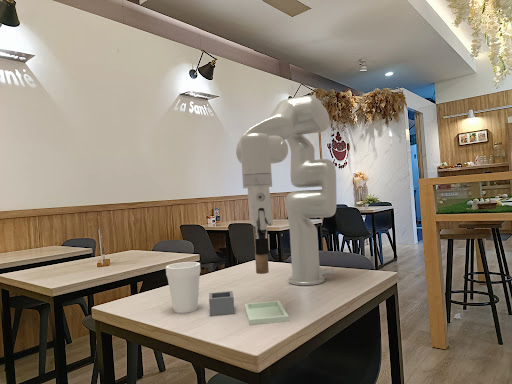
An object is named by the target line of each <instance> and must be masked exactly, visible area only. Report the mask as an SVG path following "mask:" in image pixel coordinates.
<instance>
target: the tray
mask: <svg viewBox="0 0 512 384" xmlns="http://www.w3.org/2000/svg"><path fill="white" fill-rule="evenodd" d="M244 310H245V315H246V317H247V321H248V325H249V326H255V325H264V324H265V325H266V324H274V323H284V322H285V323H286V322H290V315H289V314H288V313H287V311H286V309H285V308H284V305H282V303H281V301H280V300H272V301H261V302H251V303H244Z"/></svg>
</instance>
